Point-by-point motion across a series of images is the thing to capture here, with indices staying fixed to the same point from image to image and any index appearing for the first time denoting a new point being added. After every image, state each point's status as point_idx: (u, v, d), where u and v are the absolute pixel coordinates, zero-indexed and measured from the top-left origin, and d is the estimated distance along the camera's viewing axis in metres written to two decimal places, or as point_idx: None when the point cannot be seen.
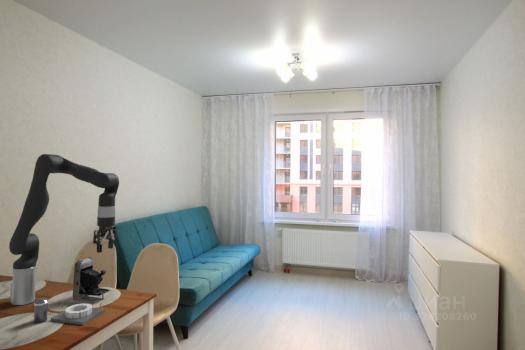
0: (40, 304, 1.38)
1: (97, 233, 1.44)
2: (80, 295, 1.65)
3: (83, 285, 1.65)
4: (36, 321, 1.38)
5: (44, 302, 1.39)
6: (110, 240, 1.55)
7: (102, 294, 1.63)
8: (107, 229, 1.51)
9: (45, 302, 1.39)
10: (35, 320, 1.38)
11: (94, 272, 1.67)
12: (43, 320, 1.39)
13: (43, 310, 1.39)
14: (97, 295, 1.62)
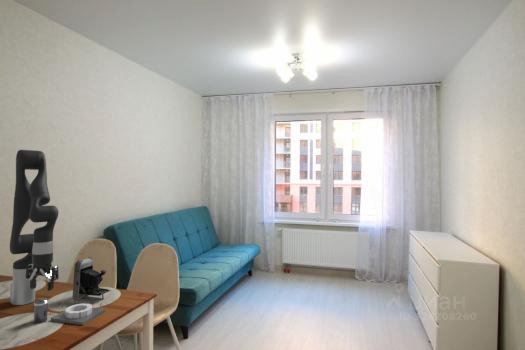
0: (40, 304, 1.38)
1: (57, 269, 1.39)
2: (80, 295, 1.65)
3: (83, 285, 1.65)
4: (36, 321, 1.38)
5: (44, 302, 1.39)
6: (33, 279, 1.41)
7: (102, 294, 1.63)
8: None
9: (45, 302, 1.39)
10: (35, 320, 1.38)
11: (94, 272, 1.67)
12: (43, 320, 1.39)
13: (43, 310, 1.39)
14: (97, 295, 1.62)
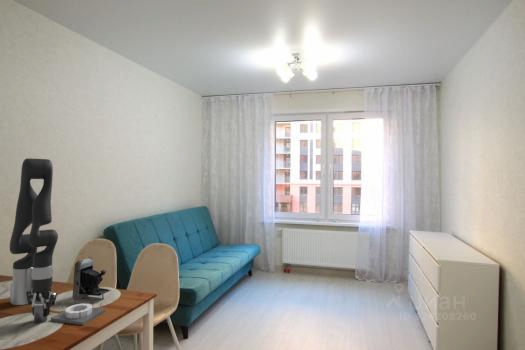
0: (40, 304, 1.38)
1: (55, 296, 1.40)
2: (80, 295, 1.65)
3: (83, 285, 1.65)
4: (36, 321, 1.38)
5: None
6: None
7: (102, 294, 1.63)
8: None
9: None
10: (35, 320, 1.38)
11: (94, 272, 1.67)
12: (43, 320, 1.39)
13: (43, 310, 1.39)
14: (97, 295, 1.62)
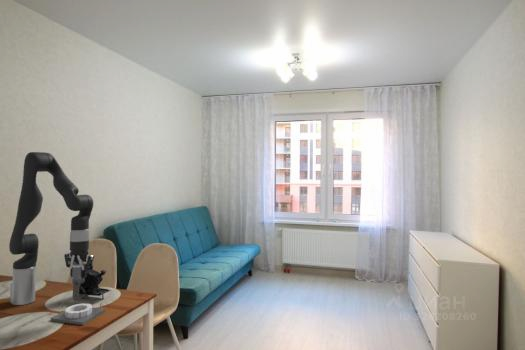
0: (78, 266, 1.43)
1: (92, 258, 1.45)
2: (80, 295, 1.65)
3: (83, 285, 1.65)
4: (74, 282, 1.43)
5: None
6: None
7: (102, 294, 1.63)
8: None
9: None
10: (73, 281, 1.43)
11: (94, 272, 1.67)
12: (81, 281, 1.44)
13: (80, 272, 1.44)
14: (97, 295, 1.62)
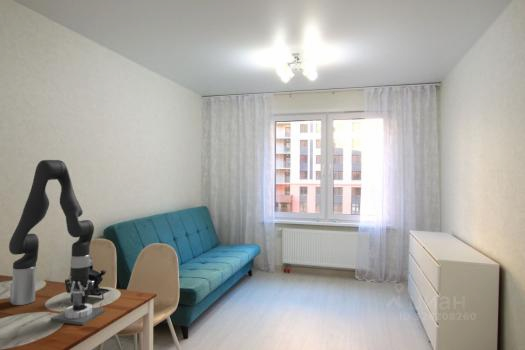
0: (79, 292, 1.43)
1: (93, 284, 1.45)
2: None
3: None
4: (75, 308, 1.43)
5: None
6: None
7: (102, 294, 1.63)
8: None
9: None
10: (74, 307, 1.43)
11: (94, 272, 1.67)
12: (81, 307, 1.44)
13: (81, 298, 1.44)
14: (97, 295, 1.62)
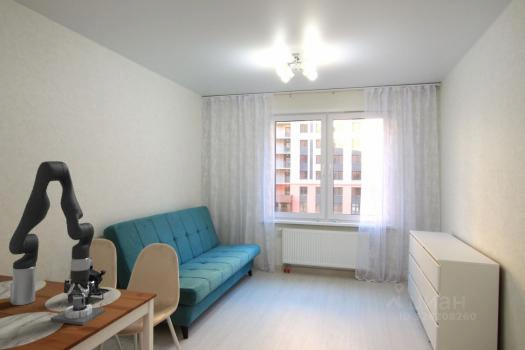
0: (79, 297, 1.44)
1: (94, 284, 1.45)
2: None
3: None
4: None
5: (82, 295, 1.45)
6: (71, 294, 1.46)
7: (102, 294, 1.63)
8: None
9: (83, 295, 1.45)
10: None
11: (94, 272, 1.67)
12: None
13: (81, 303, 1.44)
14: (97, 295, 1.62)
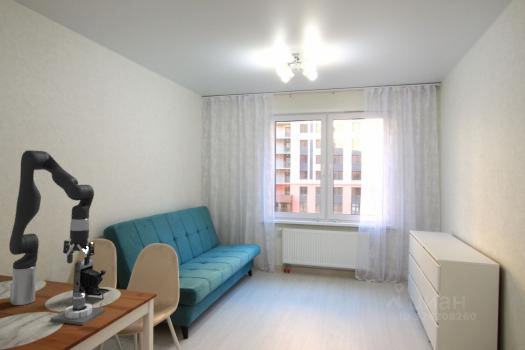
0: (78, 297, 1.43)
1: (93, 245, 1.46)
2: None
3: (83, 285, 1.65)
4: None
5: (82, 295, 1.44)
6: (70, 254, 1.48)
7: (102, 294, 1.63)
8: None
9: (83, 295, 1.45)
10: None
11: (94, 272, 1.67)
12: None
13: (81, 303, 1.44)
14: (97, 295, 1.62)
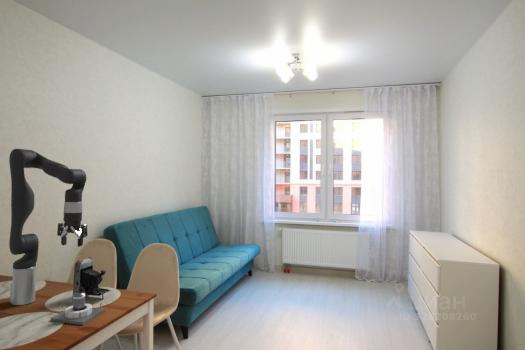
0: (78, 297, 1.43)
1: (86, 227, 1.52)
2: None
3: (83, 285, 1.65)
4: None
5: (82, 295, 1.44)
6: (64, 237, 1.53)
7: (102, 294, 1.63)
8: None
9: (83, 295, 1.45)
10: None
11: (94, 272, 1.67)
12: None
13: (81, 303, 1.44)
14: (97, 295, 1.62)
